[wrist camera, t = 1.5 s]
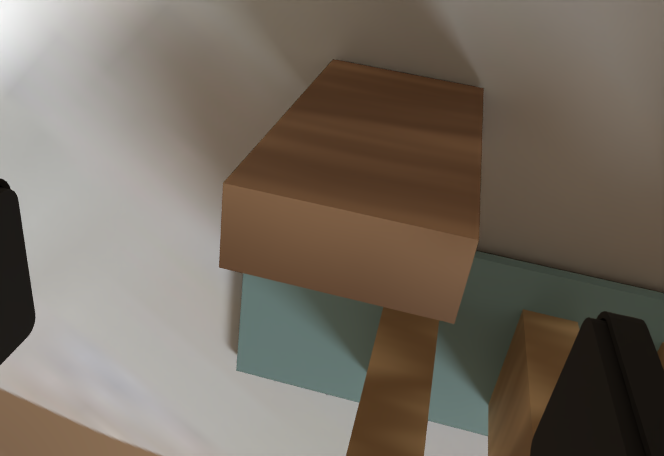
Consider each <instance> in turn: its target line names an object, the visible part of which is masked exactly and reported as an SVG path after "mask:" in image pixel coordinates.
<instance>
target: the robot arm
mask: <svg viewBox="0 0 664 456" xmlns="http://www.w3.org/2000/svg"><path fill="white" fill-rule="evenodd" d="M34 323H35V309H34V303H33V296H32V289H31V282H30V276H29V269H28V262H27V256H26V249H25V242H24V235H23V229H22V222H21V215H20V209H19V202H18V197H17V195H16V193H15V192H14V191H13V190H11V189H10V186H9V185H8V183H7V182H6V181H5V180H3V179H0V365H1V364H2V363H3V362H4V361H5V360H6V359H7V358H8V357H9V356H10V354H11V353H12V352H13V351H14V350H15V349H16V348H17V347H18V346H19V345H20V344H21V343H22V342H23V341H24V340H25V339H26V338H27V337H28V335H29V334H30V333H31V331H32V329H33V326H34ZM530 456H664V369H663V366H662V364H661V361H660V358H659V356H658V353H657V351H656V348H655V345H654V343H653V340H652V337H651V335H650V332H649V330H648V327H647V325H646V323H645V321H644V320H642V319H639V318H634V317H630V316H625V315H620V314H616V313H611V312H607V311H603V312H601V313H600V314H599V315H598V317H597V318H596V319H594V318H590V317H588V318H586V319H585V320H584V321H583V323H582V325H581V328H580V330H579V332H578V335H577V337H576V339H575V341H574V344H573V346H572V348H571V351H570V353H569V355H568V358H567V360H566V362H565V365H564V367H563V369H562V371H561V374H560V376H559V378H558V381H557V383H556V385H555V388H554V390H553V392H552V395H551V397H550V399H549V402H548V404H547V406H546V408H545V411H544V413H543V415H542V418H541V420H540V422H539V425H538V427H537V429H536V432H535V434H534V436H533V439H532V443H531V449H530Z"/></svg>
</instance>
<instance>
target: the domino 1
mask: <svg viewBox="0 0 664 456" xmlns="http://www.w3.org/2000/svg"><path fill="white" fill-rule="evenodd" d="M483 92H484V88H480V87H474V86H469V85H464V84H459V83H454V82H449V81H443V80H438V79H433V78H428V77H423V76H417V75H412V74H407V73H402V72H397V71H392V70H386V69H381V68H376V67H371V66H366V65H360V64H355V63H350V62H345V61H340V60H334V59H333V60H332V61H331V62H330V64H329V65H328V66H327V67H326V68H325V69H324V70H323V71H322V73H321V74H320V75H319V76H318V77H317V78H316V79H315V80H314V81H313V83H312V84H311V85H310V86H309V87H308V88H307V89H306V90H305V92H304V93H303V94H302V95H301V96H300V97H299V98H298V99H297V101H296V102H295V103H294V104H293V105H292V106H291V107H290V108H289V110H288V111H287V112H286V113H285V114H284V115H283V116H282V117H281V119H280V120H279V121H278V122H277V123H276V124H275V125H274V126H273V128H272V129H271V130H270V131H269V132H268V133H267V134H266V135H265V137H264V138H263V139H262V140H261V141H260V142H259V143H258V144H257V146H256V147H255V148H254V149H253V150H252V151H251V152H250V153H249V154H248V156H247V157H246V158H245V159H244V160H243V161H242V162H241V163H240V165H239V166H238V167H237V168H236V169H235V170H234V171H233V172H232V174H231V175H230V176H229V177H228V178H227V179H226V180H225V181H224V183H223V196H222V217H221V239H220V260H219V267H220V268H224V269H228V270H232V271H236V272H240V273H244V274H249V275H253V276H257V277H261V278H265V279H269V280H273V281H278V282H282V283H286V284H290V285H294V286H298V287H303V288H307V289H311V290H315V291H319V292H323V293H327V294H332V295H336V296H340V297H344V298H348V299H352V300H356V301H361V302H365V303H369V304H373V305H377V306H381V307H385V308H390V309H394V310H398V311H402V312H406V313H410V314H415V315H419V316H423V317H427V318H431V319H435V320H439V321H444V322H448V323H452V324H454V323H455V320H456V317H457V313H458V310H459V306H460V303H461V300H462V296H463V293H464V289H465V286H466V283H467V279H468V276H469V273H470V269H471V266H472V262H473V259H474V256H475V252H476V249H477V245H478V242H479V225H480V192H481V159H482V125H483Z"/></svg>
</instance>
